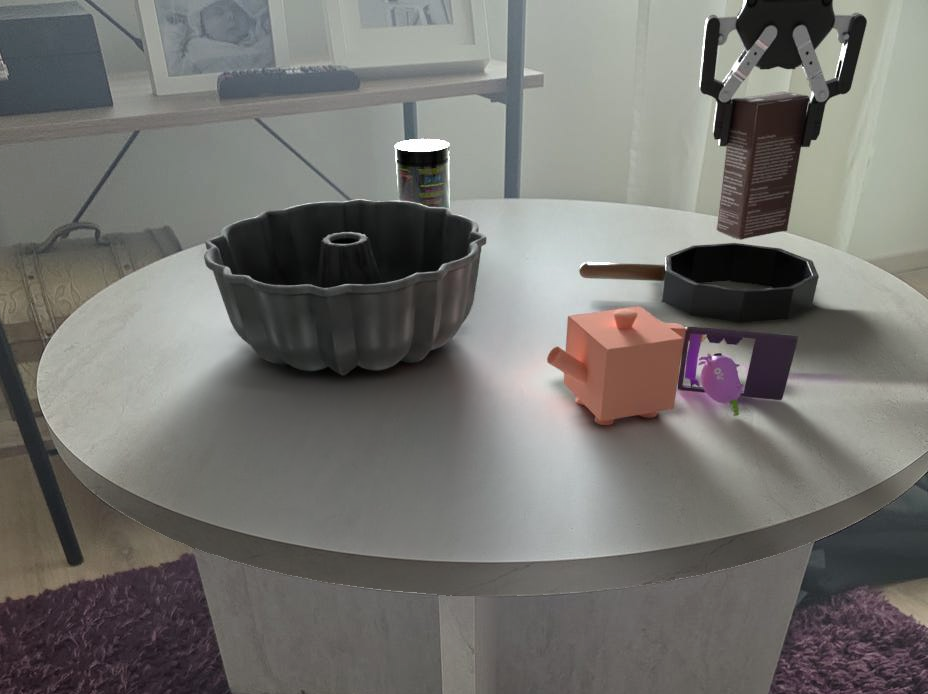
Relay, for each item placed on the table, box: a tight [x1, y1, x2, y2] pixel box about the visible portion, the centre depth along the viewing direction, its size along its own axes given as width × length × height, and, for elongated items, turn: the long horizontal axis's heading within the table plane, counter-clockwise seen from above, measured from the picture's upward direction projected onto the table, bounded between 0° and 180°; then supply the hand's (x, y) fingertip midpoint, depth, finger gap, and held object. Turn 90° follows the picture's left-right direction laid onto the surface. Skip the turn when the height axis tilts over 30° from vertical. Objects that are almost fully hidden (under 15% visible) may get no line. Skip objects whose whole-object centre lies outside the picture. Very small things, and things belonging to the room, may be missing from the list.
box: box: [716, 91, 810, 241], centre depth 89 cm, size 6×4×12 cm
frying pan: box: [578, 242, 820, 324], centre depth 97 cm, size 24×16×4 cm, turn 80°
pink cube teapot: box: [546, 305, 686, 426], centre depth 76 cm, size 8×12×8 cm, turn 107°
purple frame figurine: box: [677, 325, 799, 417], centre depth 77 cm, size 7×5×9 cm
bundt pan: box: [203, 198, 487, 376], centre depth 89 cm, size 26×26×10 cm
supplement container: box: [394, 138, 451, 210], centre depth 116 cm, size 7×7×10 cm
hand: (763, 144), depth 88 cm, fingers closed on box, 7 cm apart
